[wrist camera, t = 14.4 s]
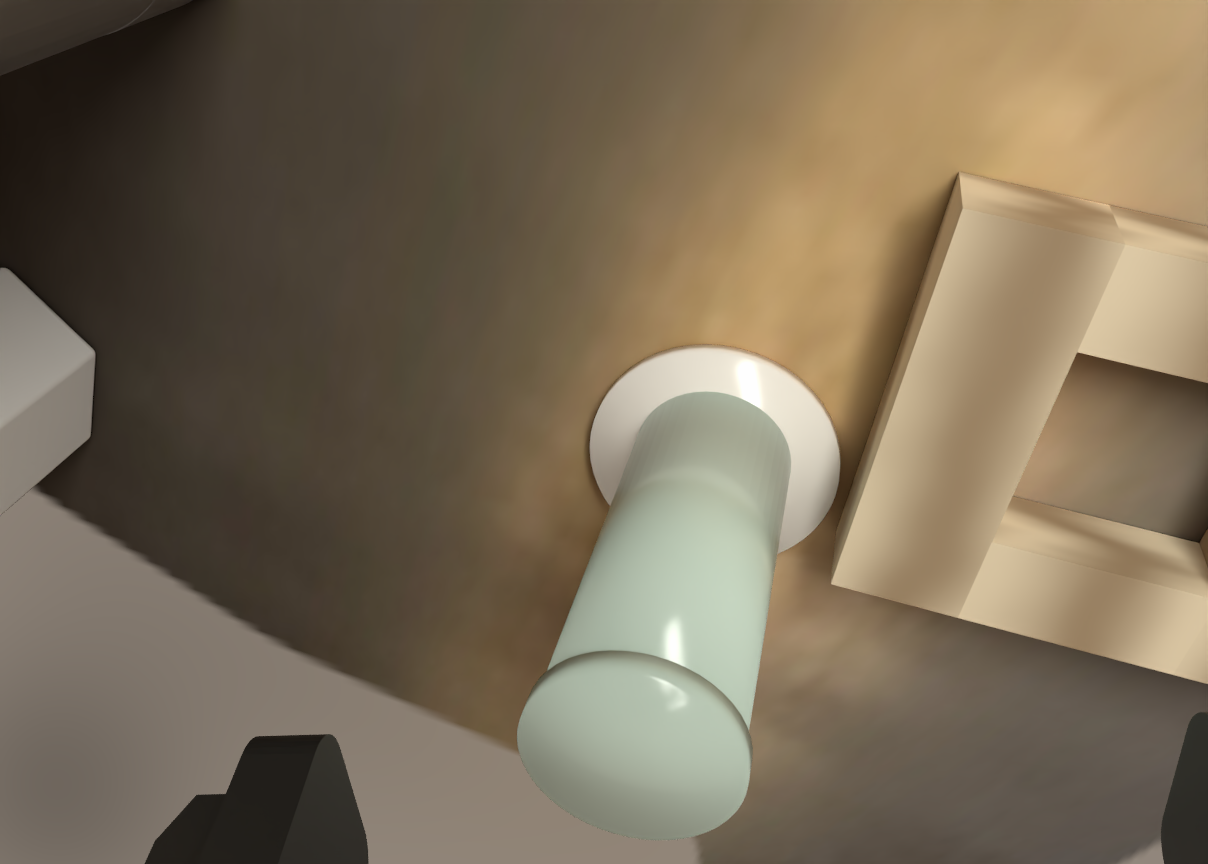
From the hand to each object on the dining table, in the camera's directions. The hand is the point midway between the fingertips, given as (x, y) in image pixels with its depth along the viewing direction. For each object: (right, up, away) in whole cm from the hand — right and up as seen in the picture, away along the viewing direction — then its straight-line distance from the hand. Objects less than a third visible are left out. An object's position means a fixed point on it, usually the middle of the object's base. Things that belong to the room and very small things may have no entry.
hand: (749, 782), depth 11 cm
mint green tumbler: (+2, +2, +29) cm, 29 cm away
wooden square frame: (+16, +3, +25) cm, 30 cm away
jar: (-26, +6, +35) cm, 44 cm away
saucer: (+3, +3, +29) cm, 30 cm away
